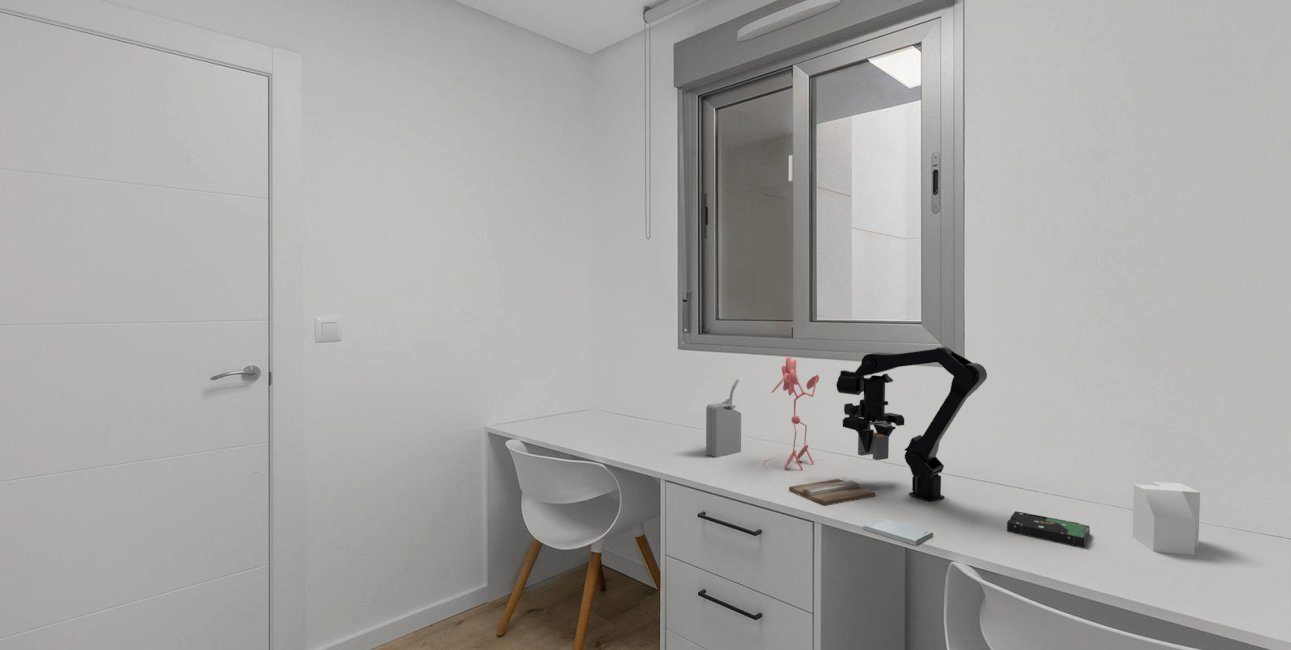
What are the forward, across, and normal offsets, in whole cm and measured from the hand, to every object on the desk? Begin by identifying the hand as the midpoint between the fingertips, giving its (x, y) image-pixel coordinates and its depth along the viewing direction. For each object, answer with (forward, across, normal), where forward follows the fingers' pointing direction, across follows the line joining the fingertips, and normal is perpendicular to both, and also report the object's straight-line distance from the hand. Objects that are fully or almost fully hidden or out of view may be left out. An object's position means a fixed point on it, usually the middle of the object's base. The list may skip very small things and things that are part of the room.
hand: (873, 451), depth 175 cm
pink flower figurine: (+10, +7, -29) cm, 31 cm away
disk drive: (+10, -8, +44) cm, 46 cm away
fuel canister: (+10, +17, -50) cm, 54 cm away
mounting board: (+10, +16, +1) cm, 19 cm away
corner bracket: (+10, -25, +59) cm, 65 cm away
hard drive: (+10, +23, +29) cm, 39 cm away
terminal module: (+2, 0, 0) cm, 2 cm away
